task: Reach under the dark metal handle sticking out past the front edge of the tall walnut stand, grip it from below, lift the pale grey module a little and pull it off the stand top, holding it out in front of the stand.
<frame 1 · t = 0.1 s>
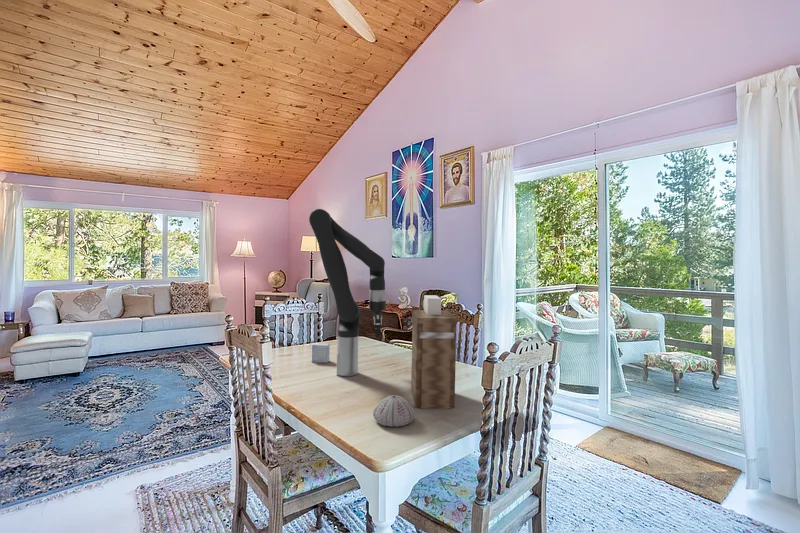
hand: (378, 335, 178), 17 cm above the table, tool pointing down, fingers open, 8 cm apart
shelf unit: (431, 398, 149), on the table
sea urchin shell: (393, 421, 128), on the table
medicine box: (320, 362, 197), on the table
module: (432, 312, 152), point 32 cm above the table, touching shelf unit
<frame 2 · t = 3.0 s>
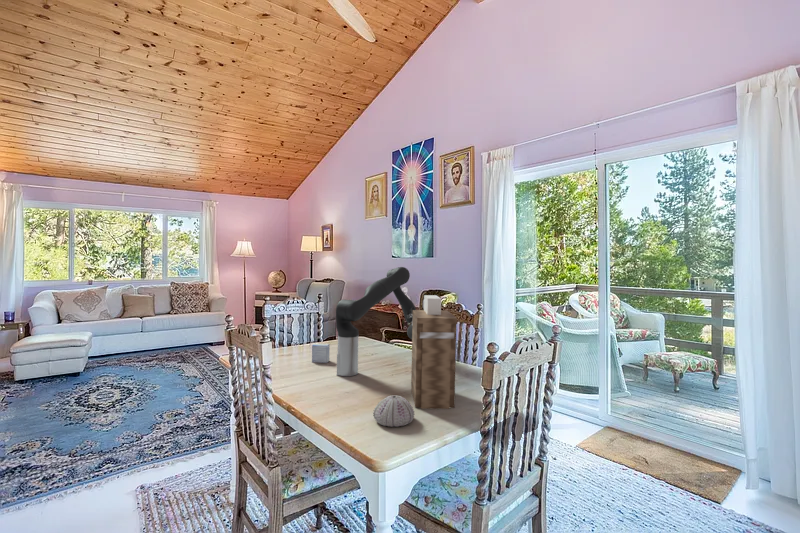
hand: (422, 308, 184), 29 cm above the table, tool pointing upward, fingers open, 8 cm apart
nothing on the table moved.
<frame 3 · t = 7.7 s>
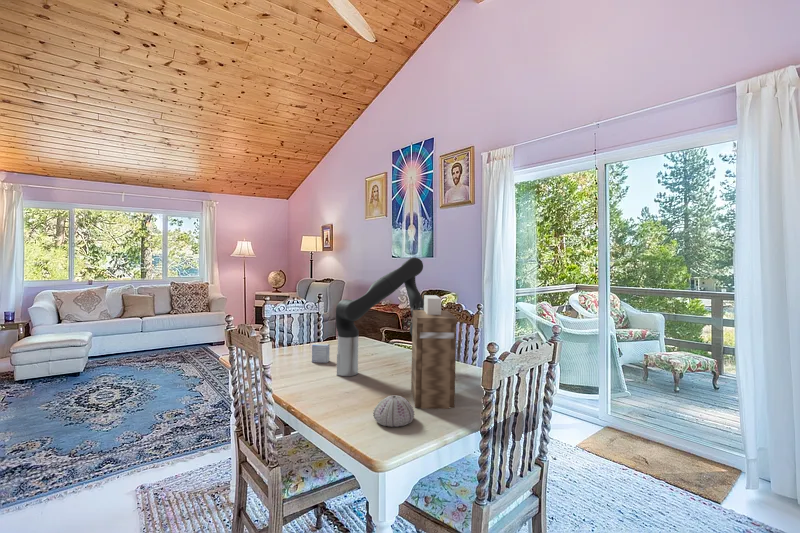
hand: (428, 301, 162), 35 cm above the table, tool pointing upward, fingers closed on module, 4 cm apart
module: (432, 312, 152), point 32 cm above the table, touching gripper, shelf unit
everything else where it was.
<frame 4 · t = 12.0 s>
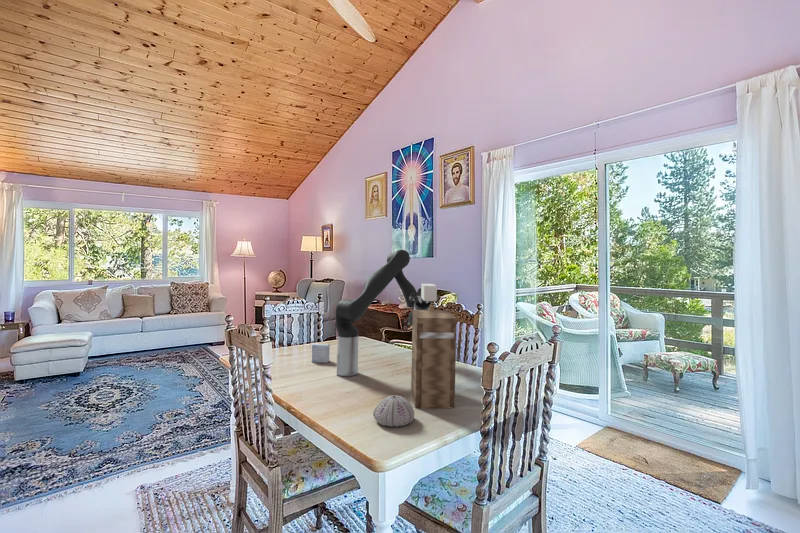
hand: (425, 290, 173), 39 cm above the table, tool pointing upward, fingers closed on module, 4 cm apart
module: (428, 299, 163), point 36 cm above the table, touching gripper
everything else where it was.
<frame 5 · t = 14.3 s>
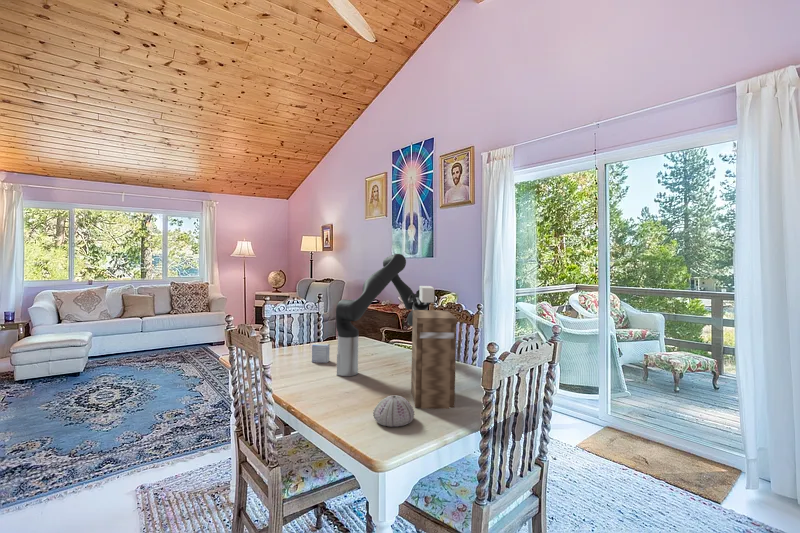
hand: (424, 291, 180), 37 cm above the table, tool pointing upward, fingers closed on module, 4 cm apart
module: (426, 300, 170), point 34 cm above the table, touching gripper
everything else where it was.
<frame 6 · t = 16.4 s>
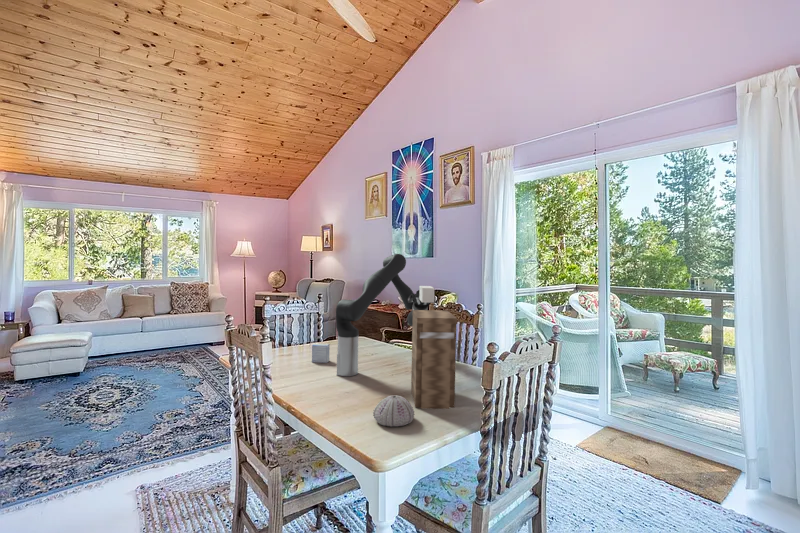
hand: (424, 291, 180), 37 cm above the table, tool pointing upward, fingers closed on module, 4 cm apart
module: (426, 300, 170), point 34 cm above the table, touching gripper
everything else where it was.
at the end: the gripper is holding module; module inside the target area (6.1 cm from its centre), point 34.3 cm above the table; module touching gripper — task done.
